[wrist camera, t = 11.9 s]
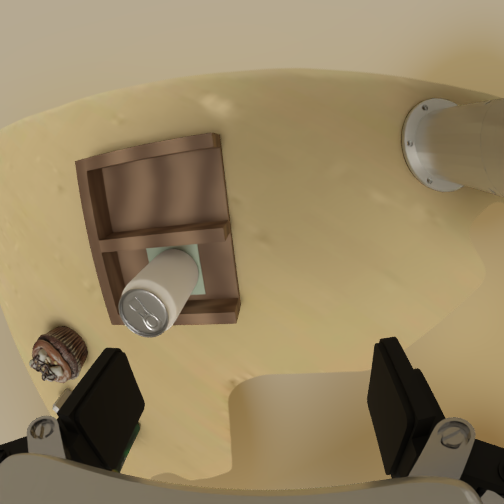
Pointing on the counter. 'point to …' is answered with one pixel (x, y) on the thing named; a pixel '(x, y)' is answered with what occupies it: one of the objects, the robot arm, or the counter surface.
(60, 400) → the lighter
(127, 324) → the can
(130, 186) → the tray
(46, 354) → the cupcake
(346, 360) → the counter surface
